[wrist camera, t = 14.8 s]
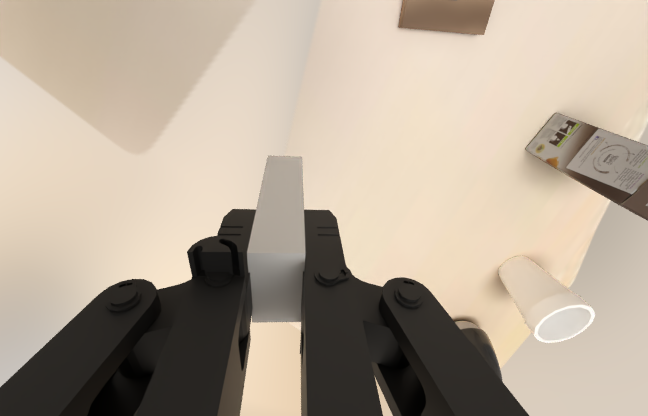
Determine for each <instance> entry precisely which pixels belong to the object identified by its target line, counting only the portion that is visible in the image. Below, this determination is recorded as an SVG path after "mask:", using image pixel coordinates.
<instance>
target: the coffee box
mask: <svg viewBox="0 0 648 416" xmlns="http://www.w3.org/2000/svg"><path fill="white" fill-rule="evenodd" d="M526 150H527V151H528V152H530V153H531V154H533V155H535V156H536V157H538V158H539V159H541V160H543V161H544V162H546V163H548V164H549V165H551V166H553V167H554V168H556V169H558V170H559V171H561V172H563V173H564V174H566V175H568V176H569V177H571V178H573V179H574V180H576V181H578V182H580V183H581V184H583V185H585V186H587V187H588V188H590V189H592V190H594V191H595V192H597V193H599V194H601V195H603V196H604V197H606V198H608V199H610V200H611V201H613V202H615V203H617V204H618V205H620V206H622V207H624V208H626V209H628V210H629V211H631V212H633V213H635V214H636V215H638V216H640V217H642V218H644V219H646V220H648V146H647V145H645V144H642V143H639V142H637V141H634V140H631V139H628V138H625V137H623V136H620V135H617V134H614V133H611V132H609V131H606V130H603V129H600V128H597V127H595V126H592V125H589V124H586V123H584V122H581V121H578V120H575V119H572V118H570V117H567V116H564V115H561V114H559V113H555V114H554V115H553V117H552V118H551V119H550V120H549V121H548V122H547V124H546V125H545V126H544V127H543V128H542V130H541V131H540V132H539V133H538V134H537V136H536V137H535V138H534V139H533V140H532V141H531V143H530V144H529V145H528V146H527V148H526Z"/></svg>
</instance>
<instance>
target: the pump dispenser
mask: <svg viewBox="0 0 648 416" xmlns="http://www.w3.org/2000/svg"><path fill="white" fill-rule="evenodd" d="M455 323H456V325H457V326H458V327H459V328H460V330H461V331H462V332H463V333H464V335H465V336H466V337H467V338H468V340H469V341H470V342H471V343H472V345H473V346H474V347H475V348H476V350H477V351H478V352H479V353H480V355H481V356H482V357H483V358H484V360H485V361H486V362H487V363H488V365H489V366H490V367H491V368H492V370H493V371H494V372H495V373H496V375H497V376H498V377H499V378H500V380H501V381H502V376H501V371H500V367H499V363H498V360H497V357H496V354H495V351H494V348H493V346H492V344H491V341H490V339H489V337H488V336H487V334H486V333H485V332H484V331H483V330H481V329H480V328H479V327H478V326H477V325H475V324H473V323H471V322H468V321H456V322H455Z"/></svg>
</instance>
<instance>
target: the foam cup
mask: <svg viewBox="0 0 648 416" xmlns="http://www.w3.org/2000/svg"><path fill="white" fill-rule="evenodd" d="M498 275H499V276H500V278H501V280H502V282H503V284H504V285H505V287H506V289H507V291H508V292H509V294H510V296H511V297H512V299H513V301H514V303H515V304H516V306H517V308H518V310H519V311H520V313H521V315H522V317H523V318H524V320H525V324H526V325H527V327H528V328H529V329H530V331H531V332H532V333H533V334H534V336H535V337H536V338H537V340H538V341H542V342H546V343H551V342H560V341H563V340H566V339H569V338H572V337H574V336H576V335H577V334H579V333H581V332H582V331H584V330H585V329H586V328H587V327H588V326H589V325H590V324H591V323H592V322H593V319H594V316H595V312H594V311H593V309H592V307H591V306H590V305H589V304H588V303H587V302H586V301H585V300H584V299H582V298H581V296H579V295H576V294H575V293H573V292H572V291H571V290H570V289H568V288H567V287H566V286H564V285H563V284H562V283H560V282H559V281H558V280H557V279H555V278H554V277H553V276H551V275H550V274H549V273H547V272H546V271H545V270H544V269H542V268H541V267H540V266H538V265H537V264H536V263H534V262H533V261H532V260H530V259H529V258H527V257H525V256H515V257H513V258H510V259H508V260H507V261H505V262H504V263H503V264H502V265H501V266H500V268H499V271H498Z"/></svg>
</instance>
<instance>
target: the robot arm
mask: <svg viewBox="0 0 648 416" xmlns="http://www.w3.org/2000/svg"><path fill="white" fill-rule="evenodd" d="M339 235H340V234H339V229H338V224H337V219H336V217H335V216H334V215H333V214H332V213H331V212H330V211H329V210H304V198H303V170H302V157H290V156H268V158H267V163H266V168H265V172H264V177H263V181H262V186H261V190H260V195H259V199H258V204H257V209H256V210H250V209H232V210H231V211H230V212H229V213H228V214H227V215H226V216H225V217H224V218H223V221H222V223H221V227H220V229H219V231H218V236H214V237H208V238H205V239H202V240H200V241H198V242H197V243H195V244H194V245H192V246H191V248H190V249H189V250H188V251H187V253H188V258H189V263H190V268H191V272H192V279H191V280H189V281H187V282H185V283H182V284H179V285H175V286H171V287H167V288H163V289H159V290H157V289H156V288H155V286H154V285H153V284H152V282H149V281H147V280H144V279H132V280H127V281H122V282H119V283H117V284H115V285H112V286H110V287H108V288H107V289H106V290H104V291H103V292H102V293H100V294H99V295H98V296H97V297H96V298H95V299H94V300H92V301H91V303H89V304H88V305H87V306H86V307H85V308H84V309H83V310H82V311H81V312H80V313H79V314H78V315H77V316H76V317H74V318H73V319H72V320H71V321H70V322H69V323H68V324H67V325H66V326H65V327H64V328H63V329H62V330H61V331H60V332H59V333H58V334H56V335H55V336H54V337H53V338H52V339H51V340H50V341H49V342H48V343H47V344H46V345H45V346H44V347H43V348H42V349H41V350H39V352H37V353H36V354H35V355H34V356H33V357H32V358H31V359H30V360H29V361H28V362H27V363H26V364H25V365H24V366H23V367H22V368H20V369H19V370H18V372H16V373H15V374H14V375H13V376H12V377H11V378H10V379H9V380H8V381H7V382H6V383H4V384H3V385H2V386H1V387H0V416H240V409H241V402H242V395H243V388H244V381H245V374H246V368H247V360H248V354H249V347H250V322H251V316H252V322H301V343H300V344H301V345H300V354H301V416H383V414H382V409H381V405H380V400H379V395H378V390H377V386H376V381H375V377H376V380H377V382H378V384H379V386H380V388H381V390H382V392H383V394H384V397H385V399H386V401H387V403H388V406H389V408H390V410H391V412H392V414H393V416H529V415H528V414H527V412H526V411H525V410H524V409H523V407H522V406H521V405H520V404H519V402H518V401H517V400H516V399H515V397H514V396H513V395H512V394H511V393H510V391H509V390H508V389H507V387H506V386H505V385H504V384H503V382H502V381H501V380H500V378H499V377H498V376H497V375H496V373H495V372H494V371H493V370H492V368H491V367H490V366H489V365H488V363H487V362H486V361H485V360H484V358H483V357H482V356H481V355H480V353H479V352H478V351H477V350H476V348H475V347H474V346H473V345H472V343H471V342H470V341H469V340H468V338H467V337H466V336H465V335H464V333H463V332H462V331H461V330H460V328H459V327H458V326H457V325H456V323H455V322H454V321H453V320H452V318H451V317H450V316H449V314H448V313H447V312H446V311H445V309H444V308H443V307H442V306H441V304H440V303H439V302H438V301H437V299H436V298H435V297H434V296H433V294H432V293H431V292H430V291H429V290H428V289H427V288H426V287H425V286H424V285H423V284H421V283H419V282H417V281H415V280H412V279H408V278H394V279H391V280H389V281H387V282H386V284H385V285H384V286H383V287H381V286H377V285H373V284H369V283H366V282H363V281H361V280H359V279H357V278H356V277H354V276H353V275H352V273H351V271H350V270H349V269H348V268H347V267H346V264H345V259H344V254H343V249H342V244H341V239H340V236H339ZM374 375H375V376H374Z"/></svg>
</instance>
